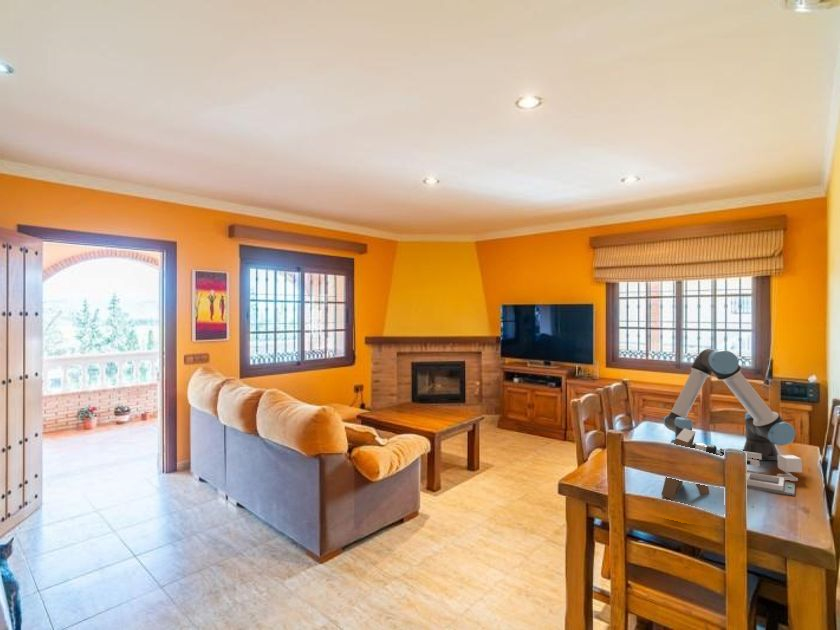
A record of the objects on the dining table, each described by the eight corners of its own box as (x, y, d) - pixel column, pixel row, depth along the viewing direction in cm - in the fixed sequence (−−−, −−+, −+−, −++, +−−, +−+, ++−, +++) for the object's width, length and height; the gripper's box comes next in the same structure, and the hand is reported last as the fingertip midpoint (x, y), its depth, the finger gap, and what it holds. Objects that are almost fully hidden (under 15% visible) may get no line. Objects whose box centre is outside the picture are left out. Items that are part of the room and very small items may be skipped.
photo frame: (661, 497, 178) (659, 436, 178) (671, 482, 194) (669, 426, 195) (704, 506, 168) (702, 441, 169) (710, 489, 185) (709, 431, 186)
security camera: (802, 481, 192) (801, 458, 192) (784, 480, 193) (783, 458, 194) (793, 476, 198) (792, 454, 198) (776, 476, 199) (775, 454, 200)
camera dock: (737, 476, 200) (737, 469, 200) (794, 485, 187) (794, 478, 187) (734, 485, 189) (733, 478, 189) (794, 496, 176) (794, 488, 176)
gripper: (710, 454, 226) (762, 461, 212) (702, 465, 207) (758, 475, 193) (710, 439, 226) (762, 446, 212) (701, 449, 207) (758, 458, 193)
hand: (760, 460), depth 202 cm, fingers open, 13 cm apart
